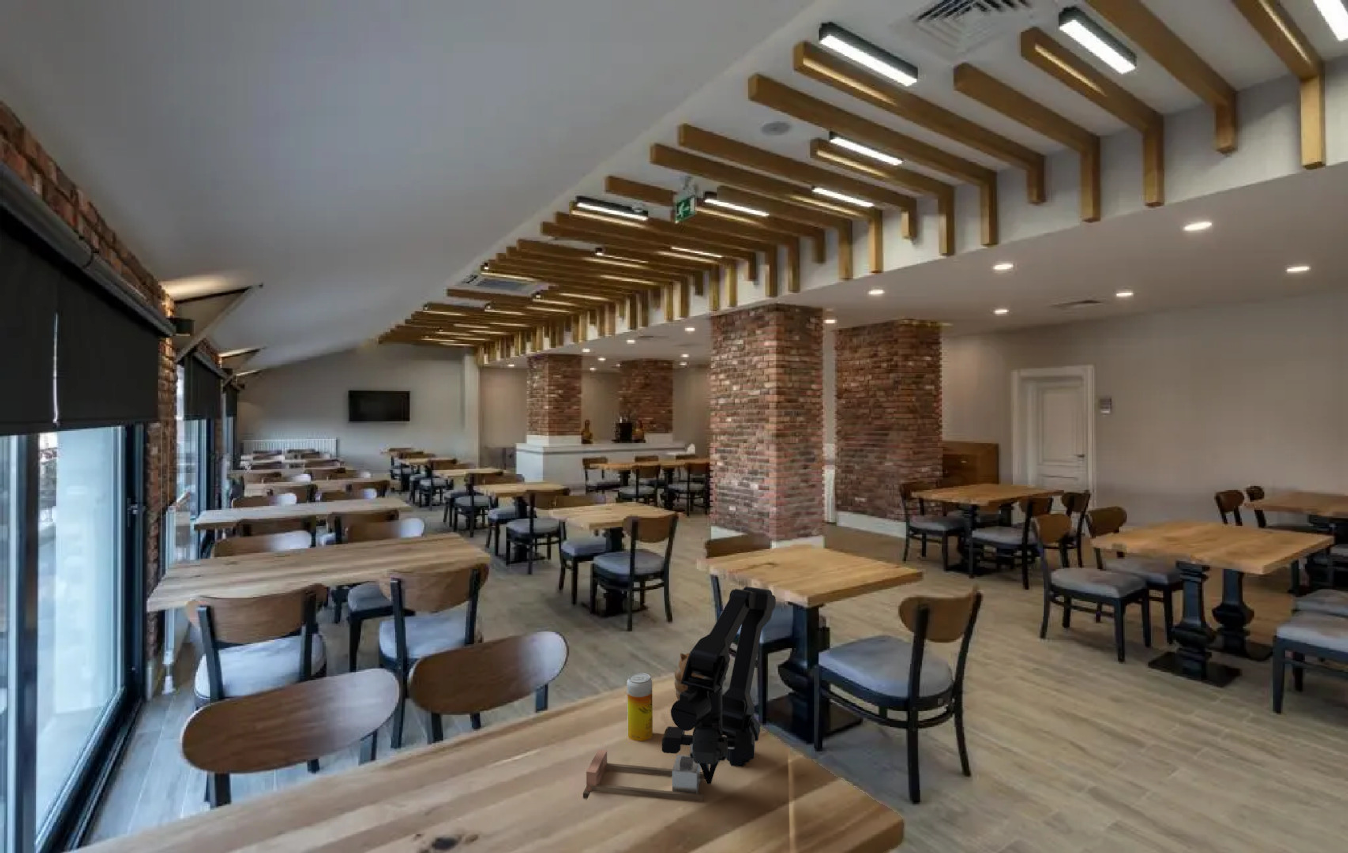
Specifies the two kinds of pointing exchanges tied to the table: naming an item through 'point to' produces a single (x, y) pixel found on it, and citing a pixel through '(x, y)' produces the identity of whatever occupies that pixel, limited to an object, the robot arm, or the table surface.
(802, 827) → the table surface
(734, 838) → the table surface
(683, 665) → the cat ice cream
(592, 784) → the guide board
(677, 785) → the block
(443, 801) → the table surface
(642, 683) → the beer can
